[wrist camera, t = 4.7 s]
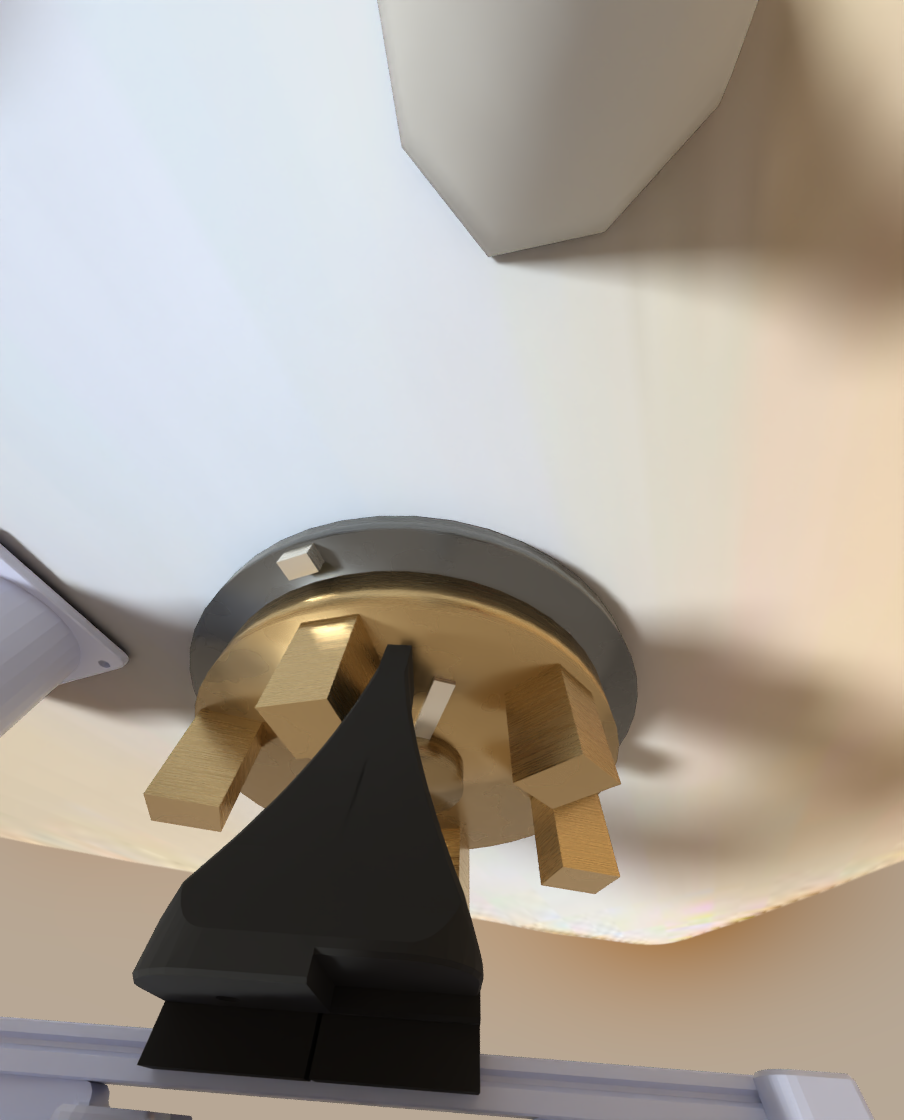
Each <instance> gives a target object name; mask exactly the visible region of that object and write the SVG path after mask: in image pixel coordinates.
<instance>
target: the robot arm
mask: <svg viewBox="0 0 904 1120" xmlns="http://www.w3.org/2000/svg"><path fill="white" fill-rule="evenodd" d="M128 661H129V658H128V656H127V655H126V654H125V653H124V652H123V651H122V650H121V649H120V648H119V647H117V646H116V645H115V644H114V643H113V642H112V641H111V640H109V639H108V638H107V637H106V636H105V635H104V634H103V633H101V632H100V631H99V630H98V629H97V628H96V627H95V626H93V625H92V624H91V623H90V622H89V621H88V620H87V619H86V618H84V617H83V616H82V615H81V614H80V613H79V612H78V611H76V610H75V609H74V608H73V607H72V606H71V605H70V604H68V603H67V602H66V601H65V600H64V599H63V598H62V597H60V596H59V595H58V594H57V593H56V592H55V591H54V590H52V589H51V588H50V587H49V586H48V585H47V584H46V583H44V582H43V581H42V580H41V579H40V578H39V577H38V576H36V575H35V574H34V573H33V572H32V571H31V570H30V569H28V568H27V567H26V566H25V565H24V564H23V563H22V562H21V561H19V560H18V559H17V558H16V557H15V556H14V555H13V554H11V553H10V552H9V551H8V550H7V549H6V548H5V547H3V546H2V545H1V544H0V737H1V736H2V735H3V734H5V733H6V732H7V731H8V730H9V729H10V728H11V727H12V726H13V725H14V724H16V723H17V722H18V721H19V720H20V719H21V718H22V717H23V716H24V715H26V714H27V713H28V712H29V711H30V710H31V709H32V708H33V707H34V706H36V705H37V704H38V703H39V702H40V701H41V700H42V699H43V698H44V697H46V696H47V695H48V694H49V693H50V692H51V691H52V690H53V689H54V688H56V687H57V686H58V685H60V684H64V683H68V682H71V681H75V680H79V679H83V678H86V677H90V676H94V675H97V674H101V673H105V672H108V671H112V670H116V669H119V668H122V667H124V666H125V665H126V664H127V663H128ZM413 697H414V674H413V656H412V645H393V644H387V647H386V649H385V651H384V654H383V657H382V659H381V662H380V665H379V667H378V668H377V670H376V672H375V673H374V675H373V677H372V678H371V680H370V682H369V683H368V685H367V686H366V688H365V689H364V691H363V692H362V694H361V695H360V697H359V699H358V700H357V702H356V703H355V704H354V706H353V707H352V709H351V710H350V711H349V713H348V714H347V715H346V717H345V718H344V720H343V721H342V722H341V724H340V725H339V726H338V728H337V729H336V730H335V732H334V733H333V734H332V735H331V737H330V738H329V739H328V741H327V742H326V743H325V744H324V745H323V747H322V748H321V749H320V750H319V751H318V753H317V754H316V755H315V756H314V757H313V758H312V760H311V761H310V762H309V763H308V764H307V765H306V766H305V767H304V769H303V770H302V771H301V772H300V773H299V774H298V775H297V776H296V777H295V778H294V779H293V781H292V782H291V783H290V784H289V785H288V786H287V787H286V788H285V789H284V790H283V791H282V792H281V793H280V794H279V795H278V796H277V797H276V798H275V799H274V800H273V801H272V802H271V803H270V804H269V805H268V806H267V807H266V808H265V809H264V810H263V811H262V812H261V813H260V814H259V815H258V816H257V817H256V818H255V819H254V820H253V821H252V822H250V823H249V824H248V825H247V826H246V827H245V828H244V829H243V830H242V831H241V832H240V833H239V834H238V835H237V836H236V837H234V838H233V839H232V840H231V841H230V842H229V843H228V844H227V845H225V846H224V847H223V848H222V849H221V850H220V851H219V852H217V853H216V854H215V855H214V856H213V857H212V858H210V859H209V860H208V861H207V862H206V863H205V864H204V865H202V866H201V867H200V868H199V869H198V870H197V871H195V872H194V873H193V874H192V875H191V876H190V877H189V878H187V879H186V880H185V881H184V882H183V884H182V885H181V887H180V888H179V890H178V891H177V893H176V895H175V896H174V898H173V899H172V901H171V903H170V904H169V906H168V908H167V909H166V911H165V913H164V914H163V916H162V917H161V919H160V921H159V923H158V925H157V926H156V928H155V930H154V932H153V934H152V936H151V938H150V940H149V942H148V944H147V946H146V948H145V950H144V952H143V954H142V956H141V957H140V959H139V961H138V963H137V965H136V967H135V969H134V971H133V973H132V974H133V980H134V984H136V985H137V986H138V987H140V988H142V989H144V990H146V991H147V992H150V993H151V994H153V995H155V996H157V997H159V998H161V999H163V1000H165V1003H164V1005H163V1007H162V1010H161V1012H160V1014H159V1016H158V1019H157V1021H156V1023H155V1025H154V1027H153V1029H152V1028H140V1027H127V1026H114V1025H101V1024H88V1023H75V1022H61V1021H49V1020H37V1019H24V1018H11V1017H0V1120H192V1117H191V1116H185V1115H176V1114H165V1113H157V1112H150V1111H139V1110H129V1109H118V1108H110V1106H109V1102H108V1100H109V1089H108V1086H107V1085H105V1084H113V1085H126V1086H138V1087H150V1088H162V1089H174V1090H186V1091H198V1092H211V1093H223V1094H236V1095H247V1096H259V1097H271V1098H285V1099H295V1100H296V1099H297V1100H307V1101H320V1102H332V1103H344V1104H356V1105H368V1106H380V1107H393V1108H405V1109H417V1110H430V1111H441V1112H453V1113H465V1114H477V1115H490V1116H502V1117H514V1118H527V1119H533V1120H875V1119H874V1117H873V1116H872V1113H871V1112H870V1109H869V1107H868V1106H867V1103H866V1102H865V1099H864V1097H863V1095H862V1093H861V1092H860V1089H859V1087H858V1085H857V1083H856V1081H855V1080H854V1079H853V1078H851V1077H850V1076H849V1075H848V1074H844V1073H831V1072H818V1071H805V1070H792V1069H767V1070H761V1071H757V1072H755V1074H754V1075H744V1074H731V1073H718V1072H706V1071H693V1070H680V1069H667V1068H654V1067H642V1066H629V1065H616V1064H603V1063H589V1062H576V1061H564V1060H551V1059H539V1058H526V1057H525V1058H524V1057H513V1056H500V1055H487V1054H480V990H481V985H482V982H483V964H482V958H481V954H480V950H479V946H478V942H477V939H476V935H475V931H474V927H473V923H472V920H471V916H470V913H469V909H468V905H467V902H466V898H465V895H464V892H463V889H462V886H461V884H460V881H459V878H458V876H457V873H456V870H455V868H454V865H453V862H452V860H451V857H450V854H449V851H448V848H447V845H446V842H445V839H444V837H443V834H442V831H441V828H440V824H439V821H438V818H437V815H436V811H435V808H434V805H433V802H432V798H431V795H430V792H429V788H428V785H427V781H426V777H425V773H424V770H423V766H422V761H421V757H420V753H419V749H418V744H417V739H416V734H415V729H414V723H413V717H412V705H413Z"/></svg>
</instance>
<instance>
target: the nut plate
mask: <svg viewBox="0 0 904 1120" xmlns="http://www.w3.org/2000/svg"><path fill="white" fill-rule="evenodd" d="M373 571H410V572H420V573H430V574H439V575H444V576H449V577H454V578H458V579H463V580H468V581H472V582H475V583H478V584H481V585H484V586H487V587H490V588H493V589H496V590H499V591H502V592H504V593H506V594H509V595H511V596H513V597H515V598H517V599H519V600H522V601H524V602H526V603H528V604H530V605H531V606H533V607H534V608H536V609H538V610H539V611H541V612H542V613H544V614H546V615H547V616H549V617H550V618H552V619H553V620H554V621H555V622H557V623H558V624H559V625H560V626H561V627H563V628H564V629H565V630H566V631H567V632H568V633H570V634H571V635H572V637H573V638H574V639H575V640H576V641H577V642H578V643H579V645H580V646H581V647H582V648H583V649H584V650H585V652H586V653H587V655H588V657H589V658H590V660H591V662H592V663H593V665H594V667H595V668H596V671H597V674H598V676H599V679H600V682H601V685H602V687H603V690H604V693H605V696H606V699H607V701H608V704H609V707H610V710H611V713H612V715H613V718H614V721H615V724H616V727H617V733H618V741H619V746H620V744H621V742H622V741H623V739H624V738H625V736H626V734H627V732H628V730H629V727H630V725H631V722H632V720H633V717H634V713H635V707H636V702H637V677H636V673H635V669H634V665H633V662H632V658H631V655H630V653H629V651H628V649H627V646H626V644H625V642H624V640H623V638H622V636H621V634H620V632H619V630H618V628H617V626H616V624H615V622H614V620H613V618H612V616H611V614H610V613H609V611H608V610H607V609H606V607H605V606H604V605H603V603H602V602H601V601H600V599H599V598H598V596H597V595H596V594H595V593H594V592H593V591H592V590H591V589H590V588H589V587H588V586H587V585H586V584H585V583H584V582H583V581H582V580H581V579H579V578H578V577H577V576H576V575H575V574H574V573H572V572H571V571H570V570H568V569H567V568H565V567H564V566H563V565H561V564H560V563H558V562H557V561H556V560H554V559H553V558H551V557H550V556H548V555H546V554H544V553H542V552H540V551H538V550H536V549H534V548H533V547H531V546H529V545H527V544H525V543H523V542H521V541H518V540H516V539H513V538H510V537H508V536H505V535H502V534H500V533H497V532H494V531H491V530H489V529H485V528H481V527H477V526H473V525H468V524H464V523H460V522H456V521H452V520H443V519H435V518H426V517H418V516H375V517H367V518H359V519H350V520H342V521H338V522H334V523H330V524H327V525H323V526H319V527H315V528H311V529H308V530H305V531H303V532H300V533H298V534H296V535H293V536H291V537H288V538H286V539H283V540H281V541H279V542H277V543H276V544H274V545H272V546H271V547H269V548H267V549H266V550H264V551H262V552H261V553H259V554H257V555H256V556H255V557H253V558H252V559H251V560H250V561H249V562H248V563H246V564H245V565H244V566H243V567H242V568H241V569H239V570H238V571H237V572H236V573H235V574H234V575H233V576H232V577H231V578H230V580H229V581H228V582H227V583H226V584H225V585H224V586H223V587H222V588H221V590H220V591H219V592H218V593H217V594H216V596H215V597H214V598H213V600H212V601H211V602H210V603H209V605H208V606H207V607H206V608H205V610H204V612H203V614H202V616H201V618H200V620H199V622H198V624H197V626H196V628H195V631H194V635H193V639H192V643H191V647H190V673H191V678H192V683H193V688H194V691H195V693H196V696H198V692H199V688H200V686H201V684H202V682H203V681H204V679H205V677H206V675H207V673H208V671H209V670H210V669H211V667H212V666H213V665H214V663H215V662H216V660H217V659H218V658H219V656H220V655H221V654H222V652H223V651H224V649H225V648H226V647H227V645H228V644H229V643H230V641H231V640H232V638H233V637H234V636H235V634H236V633H237V632H238V631H239V630H240V628H241V627H242V626H243V625H244V624H245V623H246V621H247V620H248V619H249V618H250V617H251V616H253V615H254V614H255V613H256V612H258V611H259V610H260V609H261V608H263V607H264V606H265V605H266V604H268V603H270V602H271V601H273V600H275V599H277V598H279V597H280V596H282V595H284V594H286V593H287V592H289V591H292V590H295V589H297V588H300V587H302V586H305V585H308V584H310V583H313V582H316V581H320V580H325V579H329V578H333V577H337V576H341V575H348V574H356V573H365V572H373Z"/></svg>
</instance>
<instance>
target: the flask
mask: <svg viewBox="0 0 904 1120" xmlns="http://www.w3.org/2000/svg"><path fill="white" fill-rule="evenodd" d="M758 1H759V0H377V2H378V8H379V14H380V20H381V26H382V32H383V38H384V44H385V50H386V56H387V62H388V68H389V74H390V80H391V86H392V92H393V98H394V104H395V110H396V116H397V122H398V128H399V134H400V140H401V146H402V148H403V149H404V151H405V152H406V153H407V154H408V156H409V157H410V158H411V159H412V161H413V162H414V163H415V165H416V166H417V167H418V168H419V170H420V171H421V172H422V173H423V175H424V176H425V177H426V179H427V180H428V181H429V182H430V184H431V185H432V186H433V187H434V189H435V190H436V191H437V192H438V194H439V195H440V196H441V198H442V199H443V200H444V201H445V203H446V204H447V205H448V206H449V208H450V209H451V210H452V212H453V213H454V214H455V215H456V217H457V218H458V219H459V220H460V222H461V223H462V224H463V226H464V227H465V228H466V229H467V231H468V232H469V233H470V234H471V236H472V237H473V238H474V239H475V241H476V242H477V243H478V245H479V246H480V247H481V248H482V250H483V251H484V252H485V253H486V255H487V256H488V257H491V256H495V255H500V254H505V253H509V252H514V251H519V250H523V249H528V248H533V247H537V246H542V245H547V244H551V243H556V242H561V241H565V240H570V239H575V238H579V237H584V236H589V235H593V234H598V233H603V232H605V231H606V230H607V229H608V228H609V227H610V226H611V224H612V223H613V222H614V221H615V220H616V219H617V218H618V217H619V216H620V214H621V213H622V212H623V211H624V210H625V209H626V208H627V207H628V206H629V204H630V203H631V202H632V201H633V200H634V199H635V198H636V197H637V196H638V194H639V193H640V192H641V191H642V190H643V189H644V188H645V187H646V186H647V184H648V183H649V182H650V181H651V180H652V179H653V178H654V177H655V176H656V174H657V173H658V172H659V171H660V170H661V169H662V168H663V167H664V166H665V164H666V163H667V162H668V161H669V160H670V159H671V158H672V157H673V156H674V154H675V153H676V152H677V151H678V150H679V149H680V148H681V147H682V146H683V144H684V143H685V142H686V141H687V140H688V139H689V138H690V137H691V136H692V134H693V133H694V132H695V131H696V130H697V129H698V128H699V127H700V126H701V124H702V123H703V122H704V121H705V120H706V119H707V118H708V117H709V116H710V114H711V113H712V112H713V111H714V110H715V109H716V108H717V107H718V106H719V104H720V102H721V99H722V97H723V94H724V92H725V89H726V87H727V85H728V82H729V80H730V77H731V75H732V72H733V70H734V67H735V64H736V61H737V59H738V56H739V53H740V50H741V47H742V45H743V42H744V39H745V36H746V34H747V31H748V28H749V25H750V23H751V20H752V17H753V14H754V12H755V9H756V6H757V3H758Z"/></svg>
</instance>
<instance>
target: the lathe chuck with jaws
mask: <svg viewBox="0 0 904 1120" xmlns="http://www.w3.org/2000/svg"><path fill="white" fill-rule="evenodd" d="M387 644H393V645H412V656H413V674H414V697H413V705H412V717H413V723H414V729H415V734H416V739H417V744H418V749H419V753H420V757H421V761H422V766H423V770H424V773H425V777H426V781H427V785H428V788H429V792H430V795H431V798H432V802H433V805H434V808H435V811H436V815H437V818H438V821H439V824H440V828H441V831H442V834H443V837H444V839H445V842H446V845H447V848H448V851H449V854H450V857H451V860H452V862H453V865H454V868H455V870H456V873H457V876H458V878H459V881H460V884H461V886H462V889H463V892H464V895H465V898H466V902H467V905H468V909H469V849H474V848H481V847H488V846H494V845H499V844H503V843H508V842H512V841H516V840H519V839H523V838H526V837H530V836H532V835H535V840H536V847H537V855H538V863H539V871H540V879H541V885H543V886H550V887H556V888H562V889H568V890H574V891H580V892H586V893H592V894H596V893H597V892H599V891H600V890H602V889H603V888H604V887H606V886H607V885H609V884H610V883H612V882H613V881H615V880H616V879H618V878H619V877H620V874H619V871H618V867H617V863H616V860H615V856H614V852H613V848H612V845H611V841H610V837H609V834H608V830H607V826H606V822H605V819H604V815H603V811H602V808H601V804H600V800H599V796H598V794H599V793H600V792H601V791H604V790H606V789H609V788H612V787H615V786H617V785H620V784H621V782H620V779H619V776H618V773H617V770H616V767H615V765H616V762H617V756H618V748H619V741H618V733H617V727H616V724H615V721H614V718H613V715H612V713H611V710H610V707H609V704H608V701H607V699H606V696H605V693H604V690H603V687H602V685H601V682H600V679H599V676H598V674H597V671H596V668H595V667H594V665H593V663H592V662H591V660H590V658H589V657H588V655H587V653H586V652H585V650H584V649H583V648H582V647H581V646H580V645H579V643H578V642H577V641H576V640H575V639H574V638H573V637H572V635H571V634H570V633H568V632H567V631H566V630H565V629H564V628H563V627H561V626H560V625H559V624H558V623H557V622H555V621H554V620H553V619H552V618H550V617H549V616H547V615H546V614H544V613H542V612H541V611H539V610H538V609H536V608H534V607H533V606H531V605H530V604H528V603H526V602H524V601H522V600H519V599H517V598H515V597H513V596H511V595H509V594H506V593H504V592H502V591H499V590H496V589H493V588H490V587H487V586H484V585H481V584H478V583H475V582H472V581H468V580H463V579H458V578H454V577H449V576H444V575H439V574H430V573H420V572H410V571H373V572H365V573H356V574H348V575H341V576H337V577H333V578H329V579H325V580H320V581H316V582H313V583H310V584H308V585H305V586H302V587H300V588H297V589H295V590H292V591H289V592H287V593H286V594H284V595H282V596H280V597H279V598H277V599H275V600H273V601H271V602H270V603H268V604H266V605H265V606H264V607H263V608H261V609H260V610H259V611H258V612H256V613H255V614H254V615H253V616H251V617H250V618H249V619H248V620H247V621H246V623H245V624H244V625H243V626H242V627H241V628H240V630H239V631H238V632H237V633H236V634H235V636H234V637H233V638H232V640H231V641H230V643H229V644H228V645H227V647H226V648H225V649H224V651H223V652H222V654H221V655H220V656H219V658H218V659H217V660H216V662H215V663H214V665H213V666H212V667H211V669H210V670H209V671H208V673H207V675H206V677H205V679H204V681H203V682H202V684H201V686H200V688H199V692H198V696H197V699H196V703H195V719H194V720H193V722H192V723H191V725H190V726H189V728H188V729H187V731H186V732H185V734H184V735H183V736H182V738H181V739H180V741H179V742H178V744H177V745H176V747H175V748H174V750H173V751H172V753H171V754H170V756H169V757H168V759H167V760H166V762H165V763H164V764H163V766H162V767H161V769H160V770H159V772H158V773H157V775H156V776H155V778H154V779H153V781H152V782H151V784H150V785H149V787H148V788H147V790H146V791H145V792H144V797H145V800H146V804H147V807H148V811H149V814H150V817H151V820H152V821H158V822H164V823H170V824H176V825H182V826H188V827H194V828H200V829H206V830H212V831H219V832H221V831H222V829H223V827H224V825H225V823H226V820H227V818H228V816H229V814H230V812H231V810H232V808H233V806H234V804H235V802H236V800H237V797H238V795H239V793H240V792H241V793H242V794H244V795H245V796H247V797H248V798H250V799H251V800H252V801H254V802H255V803H257V804H258V805H260V806H262V807H263V808H266V807H267V806H268V805H269V804H270V803H271V802H272V801H273V800H274V799H275V798H276V797H277V796H278V795H279V794H280V793H281V792H282V791H283V790H284V789H285V788H286V787H287V786H288V785H289V784H290V783H291V782H292V781H293V779H294V778H295V777H296V776H297V775H298V774H299V773H300V772H301V771H302V770H303V769H304V767H305V766H306V765H307V764H308V763H309V762H310V761H311V760H312V758H313V757H314V756H315V755H316V754H317V753H318V751H319V750H320V749H321V748H322V747H323V745H324V744H325V743H326V742H327V741H328V739H329V738H330V737H331V735H332V734H333V733H334V732H335V730H336V729H337V728H338V726H339V725H340V724H341V722H342V721H343V720H344V718H345V717H346V715H347V714H348V713H349V711H350V710H351V709H352V707H353V706H354V704H355V703H356V702H357V700H358V699H359V697H360V695H361V694H362V692H363V691H364V689H365V688H366V686H367V685H368V683H369V682H370V680H371V678H372V677H373V675H374V673H375V672H376V670H377V668H378V667H379V665H380V662H381V659H382V657H383V654H384V651H385V649H386V647H387Z"/></svg>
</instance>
